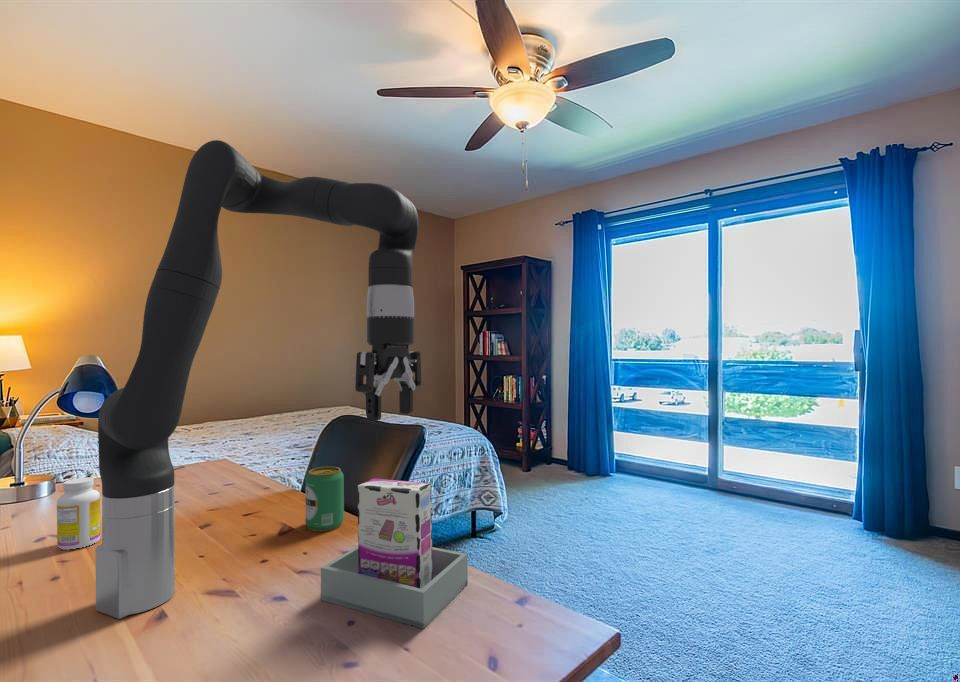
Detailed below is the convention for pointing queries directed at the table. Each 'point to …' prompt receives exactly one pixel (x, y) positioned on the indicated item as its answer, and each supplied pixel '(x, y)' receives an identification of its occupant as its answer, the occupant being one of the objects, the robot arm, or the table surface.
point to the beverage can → (324, 498)
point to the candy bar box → (395, 531)
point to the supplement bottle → (78, 514)
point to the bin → (395, 588)
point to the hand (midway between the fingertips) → (390, 416)
